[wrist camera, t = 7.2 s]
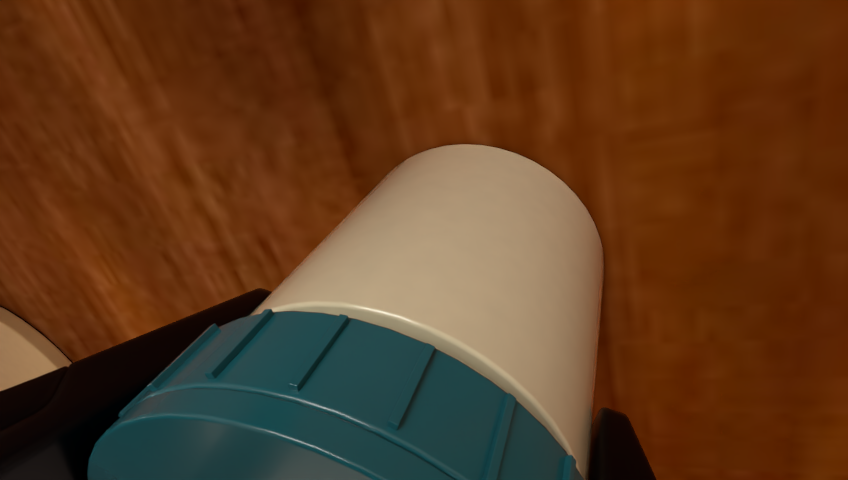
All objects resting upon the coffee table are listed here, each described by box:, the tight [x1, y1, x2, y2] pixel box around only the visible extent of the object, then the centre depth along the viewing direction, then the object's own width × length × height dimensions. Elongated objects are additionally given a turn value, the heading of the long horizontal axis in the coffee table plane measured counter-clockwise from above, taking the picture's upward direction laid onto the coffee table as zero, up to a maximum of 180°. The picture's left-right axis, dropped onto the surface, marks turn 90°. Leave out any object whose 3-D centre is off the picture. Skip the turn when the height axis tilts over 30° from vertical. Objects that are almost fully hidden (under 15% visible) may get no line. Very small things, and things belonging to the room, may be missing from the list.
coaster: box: [0, 307, 72, 391], centre depth 25 cm, size 10×10×1 cm
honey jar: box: [249, 144, 604, 480], centre depth 10 cm, size 6×6×7 cm
